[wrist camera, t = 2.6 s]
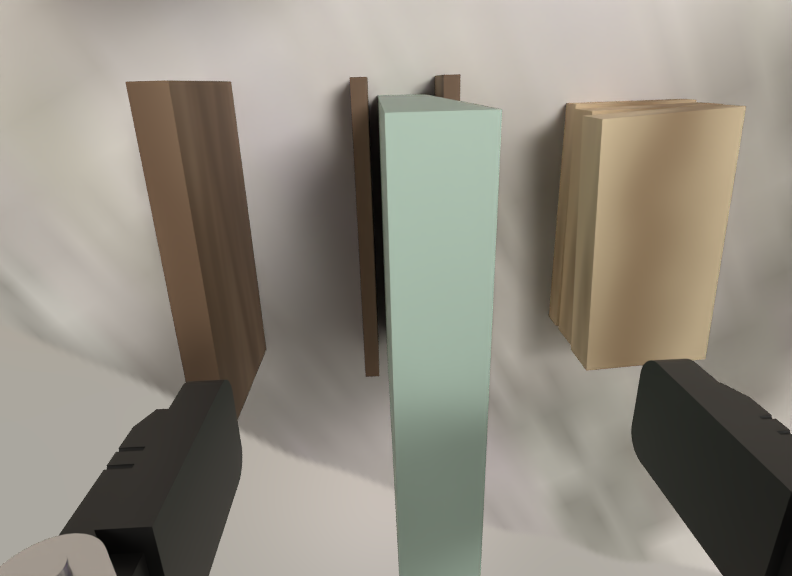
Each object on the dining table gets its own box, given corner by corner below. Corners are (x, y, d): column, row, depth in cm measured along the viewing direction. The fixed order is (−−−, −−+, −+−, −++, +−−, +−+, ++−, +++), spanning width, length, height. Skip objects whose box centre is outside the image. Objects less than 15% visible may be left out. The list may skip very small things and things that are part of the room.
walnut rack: (449, 75, 22) (481, 72, 15) (446, 342, 26) (470, 427, 20) (201, 82, 21) (125, 81, 15) (242, 350, 26) (197, 440, 19)
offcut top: (714, 103, 20) (745, 106, 18) (681, 339, 23) (705, 359, 22) (582, 115, 20) (602, 119, 18) (570, 349, 23) (586, 370, 22)
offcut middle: (695, 102, 21) (723, 103, 20) (661, 322, 25) (682, 339, 23) (574, 108, 21) (592, 110, 20) (558, 329, 25) (572, 346, 23)
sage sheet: (425, 94, 22) (502, 109, 9) (426, 329, 26) (480, 578, 13) (377, 95, 22) (384, 113, 9) (386, 331, 26) (399, 582, 13)
